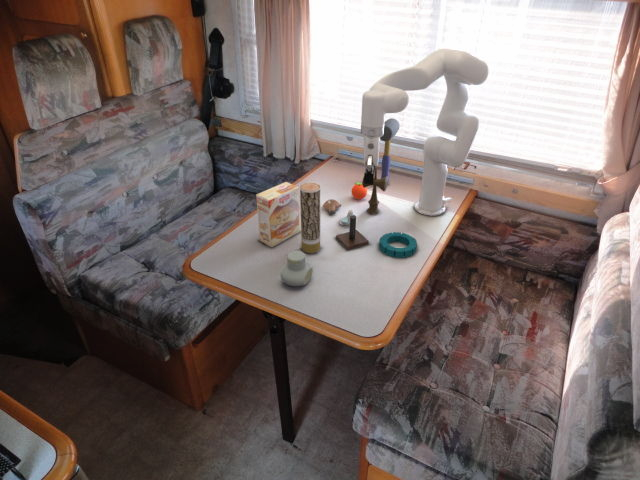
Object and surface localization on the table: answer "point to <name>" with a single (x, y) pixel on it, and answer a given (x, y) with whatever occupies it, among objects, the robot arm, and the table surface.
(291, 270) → the air freshener
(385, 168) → the rubber mallet
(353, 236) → the peg stand
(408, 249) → the ring
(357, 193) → the clementine
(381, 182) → the kendama
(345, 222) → the pacifier
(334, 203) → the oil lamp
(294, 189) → the coffeecake box
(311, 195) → the patterned cylinder
